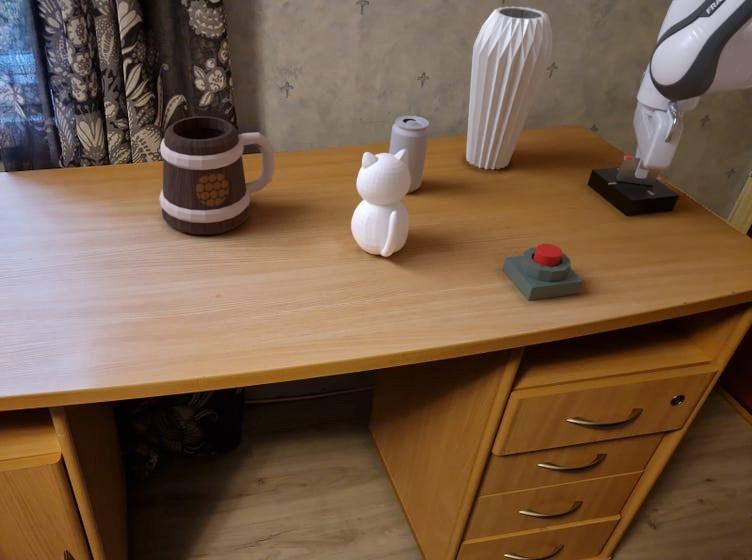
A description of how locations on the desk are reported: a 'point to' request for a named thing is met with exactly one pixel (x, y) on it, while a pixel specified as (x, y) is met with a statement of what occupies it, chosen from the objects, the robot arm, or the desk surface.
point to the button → (548, 255)
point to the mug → (208, 175)
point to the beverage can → (411, 145)
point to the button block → (541, 276)
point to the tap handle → (628, 172)
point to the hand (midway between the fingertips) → (638, 172)
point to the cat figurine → (382, 203)
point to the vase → (505, 81)
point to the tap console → (632, 193)
